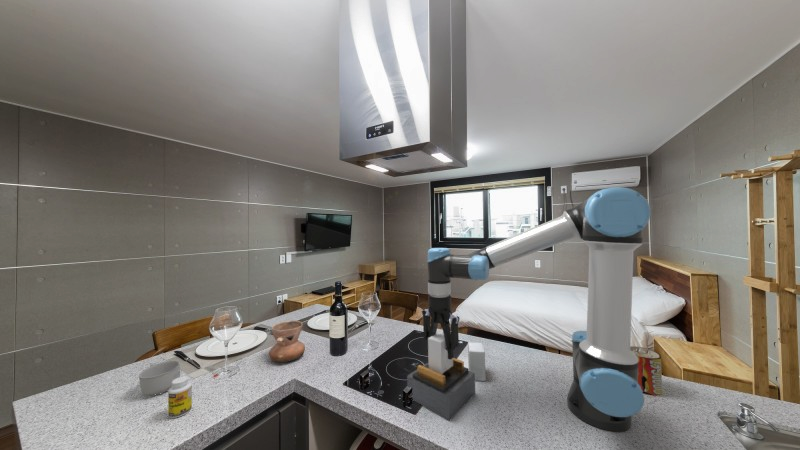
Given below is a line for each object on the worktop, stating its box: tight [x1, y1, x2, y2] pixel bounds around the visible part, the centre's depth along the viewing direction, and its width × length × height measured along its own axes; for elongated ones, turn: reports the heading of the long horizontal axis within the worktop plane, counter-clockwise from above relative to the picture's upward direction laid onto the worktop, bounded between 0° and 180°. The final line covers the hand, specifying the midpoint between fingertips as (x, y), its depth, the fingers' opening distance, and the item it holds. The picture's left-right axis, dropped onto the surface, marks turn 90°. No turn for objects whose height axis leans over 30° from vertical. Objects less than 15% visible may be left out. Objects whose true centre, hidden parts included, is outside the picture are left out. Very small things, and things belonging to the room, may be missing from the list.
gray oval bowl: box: [138, 359, 181, 396], centre depth 94 cm, size 14×11×8 cm
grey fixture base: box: [406, 357, 476, 422], centre depth 87 cm, size 16×16×10 cm
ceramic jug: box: [268, 320, 306, 363], centre depth 115 cm, size 18×14×14 cm
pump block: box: [427, 331, 454, 374], centre depth 87 cm, size 5×7×10 cm
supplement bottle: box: [167, 375, 193, 419], centre depth 81 cm, size 6×6×10 cm
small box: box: [467, 341, 487, 382], centre depth 98 cm, size 8×6×10 cm
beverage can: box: [630, 345, 663, 397], centre depth 89 cm, size 9×9×12 cm
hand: (441, 364), depth 87 cm, fingers closed on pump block, 5 cm apart
